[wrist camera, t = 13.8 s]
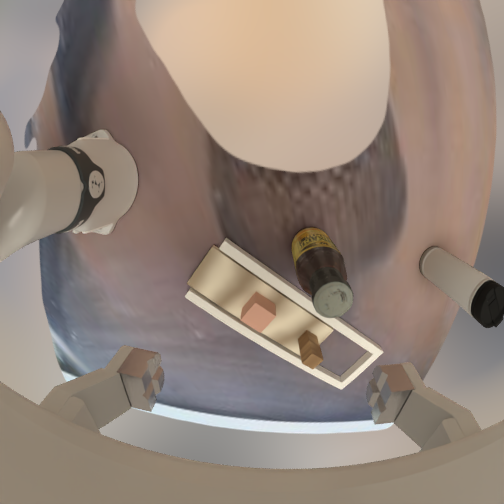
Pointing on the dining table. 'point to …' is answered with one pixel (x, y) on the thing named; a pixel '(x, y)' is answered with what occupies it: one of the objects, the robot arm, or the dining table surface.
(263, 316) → the terracotta block
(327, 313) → the sauce bottle
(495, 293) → the travel mug
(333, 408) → the dining table surface
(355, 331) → the guide rails
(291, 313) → the pale strip
